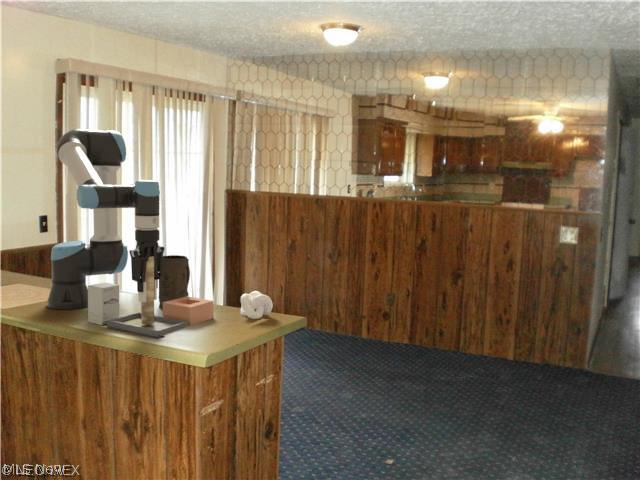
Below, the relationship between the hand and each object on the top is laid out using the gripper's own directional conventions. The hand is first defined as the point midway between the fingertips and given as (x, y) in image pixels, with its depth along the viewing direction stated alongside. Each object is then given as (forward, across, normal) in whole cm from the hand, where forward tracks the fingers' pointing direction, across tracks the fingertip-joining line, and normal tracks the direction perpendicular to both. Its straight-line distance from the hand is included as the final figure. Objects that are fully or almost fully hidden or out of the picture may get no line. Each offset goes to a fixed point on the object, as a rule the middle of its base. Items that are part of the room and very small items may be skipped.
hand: (147, 300), depth 206 cm
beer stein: (+10, +27, +12) cm, 31 cm away
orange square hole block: (+9, +14, -5) cm, 18 cm away
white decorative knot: (+10, +31, -20) cm, 38 cm away
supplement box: (+10, -2, +18) cm, 21 cm away
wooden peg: (+8, 0, 0) cm, 8 cm away
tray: (+9, 0, 0) cm, 9 cm away
